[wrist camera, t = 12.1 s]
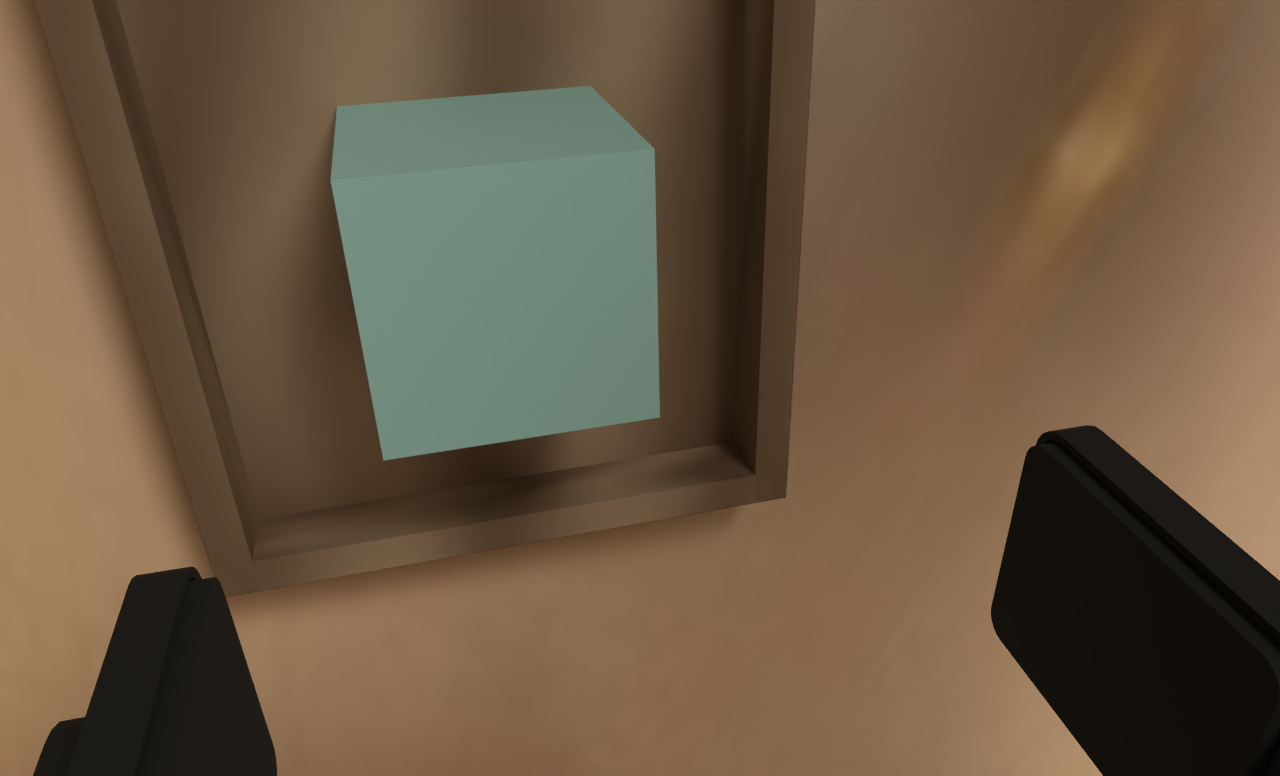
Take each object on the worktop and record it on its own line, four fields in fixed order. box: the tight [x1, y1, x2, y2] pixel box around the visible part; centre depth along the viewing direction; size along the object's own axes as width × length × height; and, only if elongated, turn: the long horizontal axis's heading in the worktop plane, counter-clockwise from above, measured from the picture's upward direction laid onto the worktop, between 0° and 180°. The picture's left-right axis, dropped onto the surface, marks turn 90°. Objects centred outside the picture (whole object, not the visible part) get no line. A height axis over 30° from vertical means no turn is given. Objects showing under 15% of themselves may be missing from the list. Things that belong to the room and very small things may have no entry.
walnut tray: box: [34, 0, 815, 597], centre depth 24 cm, size 16×18×2 cm
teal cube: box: [331, 86, 660, 461], centre depth 22 cm, size 6×6×6 cm
